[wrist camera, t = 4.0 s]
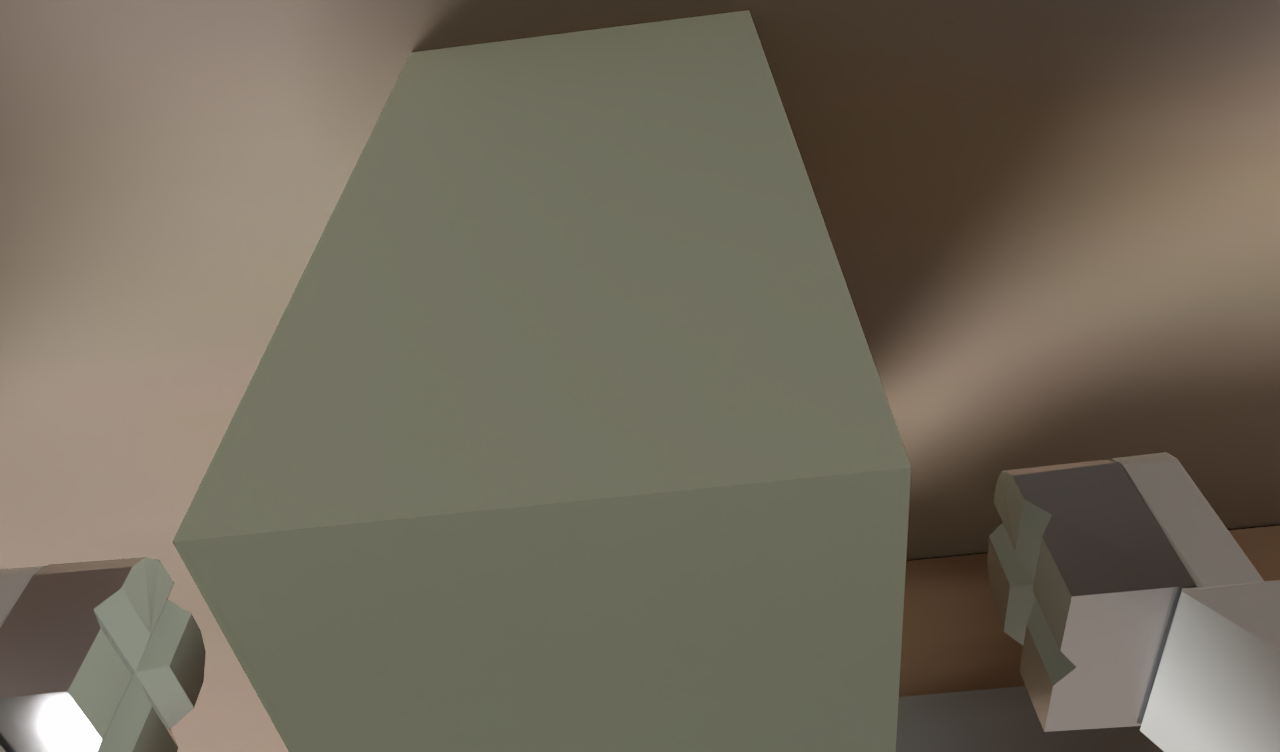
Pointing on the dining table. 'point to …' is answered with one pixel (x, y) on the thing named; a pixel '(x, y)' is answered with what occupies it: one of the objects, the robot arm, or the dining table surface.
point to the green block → (568, 427)
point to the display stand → (993, 664)
